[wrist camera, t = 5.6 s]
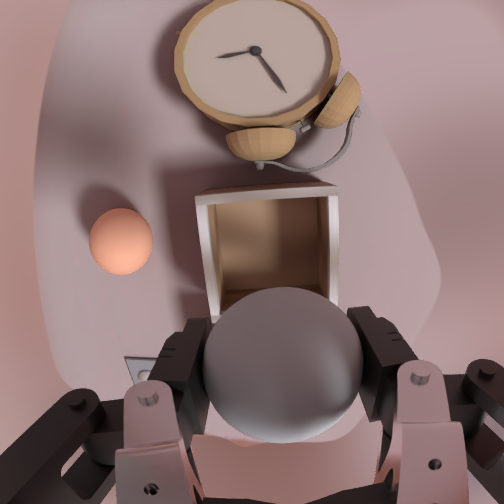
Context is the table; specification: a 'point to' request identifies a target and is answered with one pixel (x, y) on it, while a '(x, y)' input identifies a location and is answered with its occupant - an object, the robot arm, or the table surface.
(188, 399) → the robot arm
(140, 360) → the card
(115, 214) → the terracotta ball
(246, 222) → the grey-band box
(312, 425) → the grey ball
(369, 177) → the table surface
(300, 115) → the alarm clock
